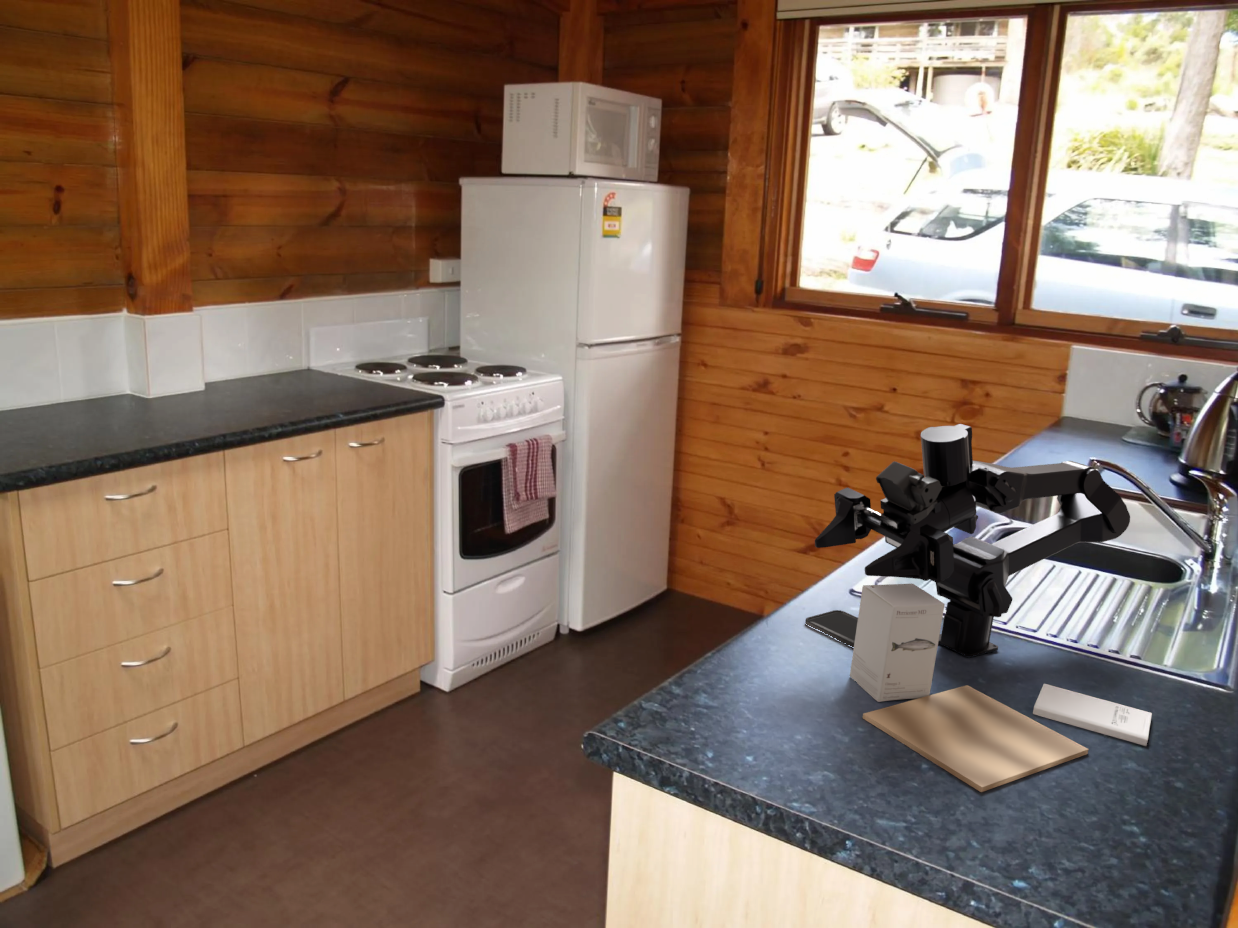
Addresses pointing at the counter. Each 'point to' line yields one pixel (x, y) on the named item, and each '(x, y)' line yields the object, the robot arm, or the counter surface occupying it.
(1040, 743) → the wooden cutting board
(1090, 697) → the external hard drive
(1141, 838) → the counter surface
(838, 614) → the phone
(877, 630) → the supplement box
